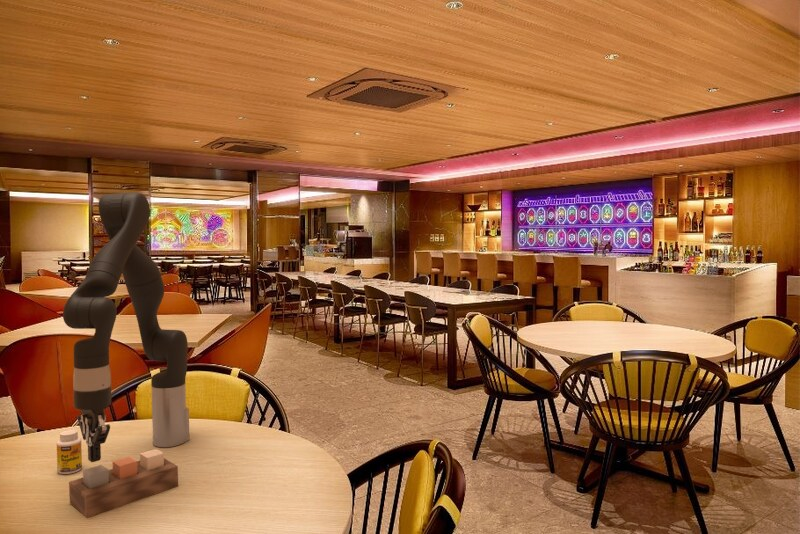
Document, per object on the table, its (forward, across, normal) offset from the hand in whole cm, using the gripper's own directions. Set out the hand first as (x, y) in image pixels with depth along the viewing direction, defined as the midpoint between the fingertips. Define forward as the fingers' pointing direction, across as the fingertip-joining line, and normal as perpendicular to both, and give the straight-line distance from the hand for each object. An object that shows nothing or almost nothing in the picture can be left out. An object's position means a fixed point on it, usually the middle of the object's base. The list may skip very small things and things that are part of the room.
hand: (94, 460), depth 132 cm
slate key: (+6, 0, 0) cm, 6 cm away
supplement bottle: (+10, +24, -3) cm, 26 cm away
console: (+10, 0, -7) cm, 12 cm away
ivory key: (+6, 0, -13) cm, 15 cm away
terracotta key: (+6, 0, -7) cm, 9 cm away
